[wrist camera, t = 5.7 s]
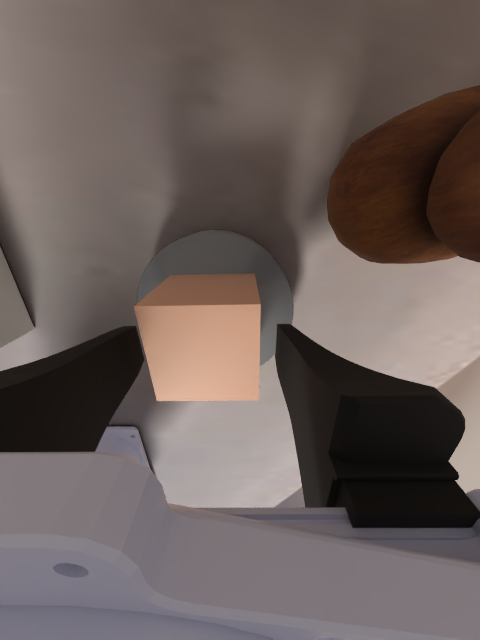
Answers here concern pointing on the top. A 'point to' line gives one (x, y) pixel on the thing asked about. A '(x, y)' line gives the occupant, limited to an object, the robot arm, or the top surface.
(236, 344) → the block
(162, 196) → the top surface
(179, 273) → the pedestal
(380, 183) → the wooden figurine
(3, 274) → the small box
